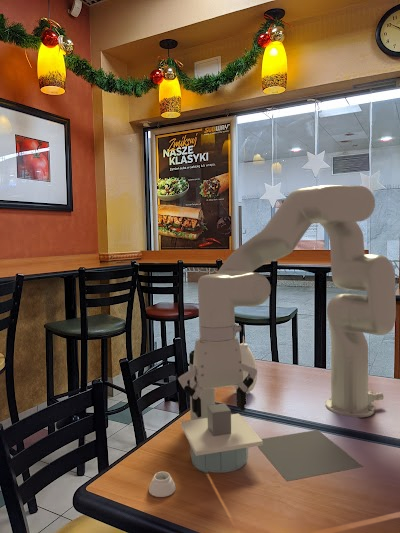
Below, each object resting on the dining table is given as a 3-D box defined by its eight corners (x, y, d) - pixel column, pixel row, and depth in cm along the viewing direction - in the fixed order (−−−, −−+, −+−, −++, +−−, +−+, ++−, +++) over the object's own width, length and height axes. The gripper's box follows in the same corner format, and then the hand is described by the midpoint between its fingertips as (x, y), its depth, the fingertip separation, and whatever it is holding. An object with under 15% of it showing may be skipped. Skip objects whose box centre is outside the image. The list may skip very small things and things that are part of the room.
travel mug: (214, 433, 101) (212, 352, 99) (188, 431, 102) (186, 351, 101) (218, 422, 107) (217, 346, 105) (193, 420, 108) (191, 345, 107)
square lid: (238, 416, 97) (238, 392, 96) (262, 444, 83) (262, 417, 83) (180, 425, 93) (179, 400, 93) (195, 455, 80) (195, 426, 79)
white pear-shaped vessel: (261, 391, 127) (260, 334, 126) (250, 400, 121) (249, 339, 120) (238, 387, 132) (237, 331, 131) (227, 395, 125) (226, 336, 124)
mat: (317, 432, 100) (317, 429, 100) (363, 469, 83) (363, 466, 83) (252, 442, 95) (252, 440, 95) (286, 484, 79) (286, 481, 79)
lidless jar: (180, 491, 78) (165, 480, 82) (180, 476, 78) (165, 465, 81) (158, 502, 75) (144, 490, 79) (157, 487, 74) (143, 475, 78)
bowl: (236, 442, 96) (235, 419, 96) (256, 469, 84) (256, 443, 84) (186, 450, 93) (185, 426, 92) (200, 479, 81) (199, 452, 81)
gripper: (248, 325, 93) (250, 399, 94) (173, 332, 88) (176, 410, 89) (262, 332, 86) (264, 413, 87) (181, 340, 81) (184, 425, 82)
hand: (219, 411), depth 88 cm, fingers open, 9 cm apart
